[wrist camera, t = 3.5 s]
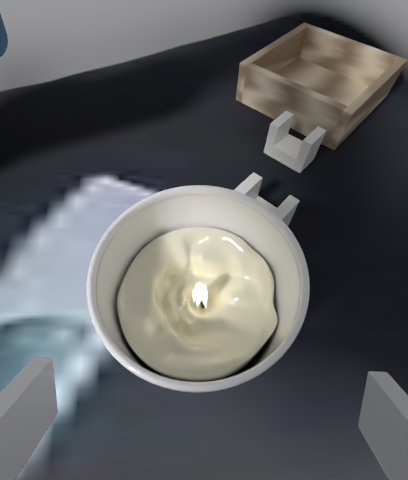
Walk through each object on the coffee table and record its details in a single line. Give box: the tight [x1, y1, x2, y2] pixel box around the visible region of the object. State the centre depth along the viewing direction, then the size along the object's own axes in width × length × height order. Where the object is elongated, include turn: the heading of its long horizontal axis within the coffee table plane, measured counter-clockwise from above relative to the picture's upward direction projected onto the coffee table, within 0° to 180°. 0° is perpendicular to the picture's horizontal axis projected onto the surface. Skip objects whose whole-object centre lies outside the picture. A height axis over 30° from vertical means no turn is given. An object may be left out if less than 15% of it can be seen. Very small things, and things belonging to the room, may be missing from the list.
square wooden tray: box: [236, 23, 407, 150], centre depth 38 cm, size 15×15×5 cm
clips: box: [234, 111, 327, 226], centre depth 29 cm, size 8×13×4 cm, turn 138°
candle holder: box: [86, 185, 310, 392], centre depth 18 cm, size 10×10×12 cm
